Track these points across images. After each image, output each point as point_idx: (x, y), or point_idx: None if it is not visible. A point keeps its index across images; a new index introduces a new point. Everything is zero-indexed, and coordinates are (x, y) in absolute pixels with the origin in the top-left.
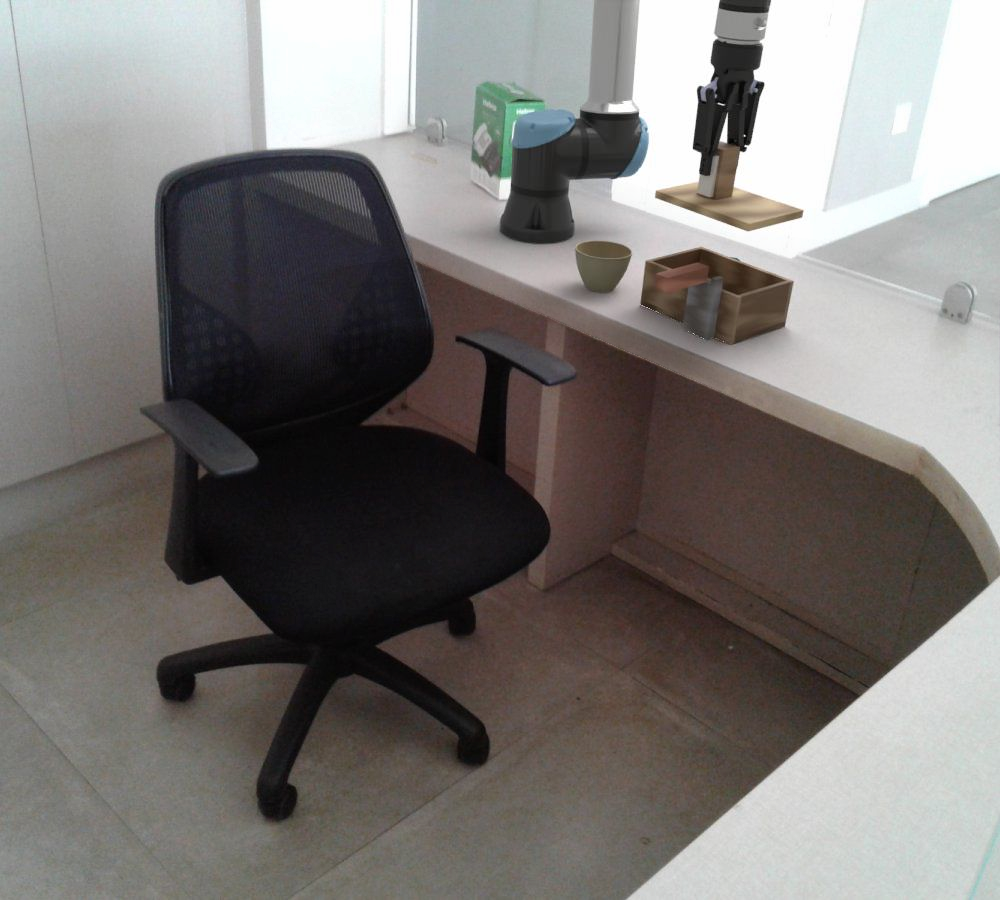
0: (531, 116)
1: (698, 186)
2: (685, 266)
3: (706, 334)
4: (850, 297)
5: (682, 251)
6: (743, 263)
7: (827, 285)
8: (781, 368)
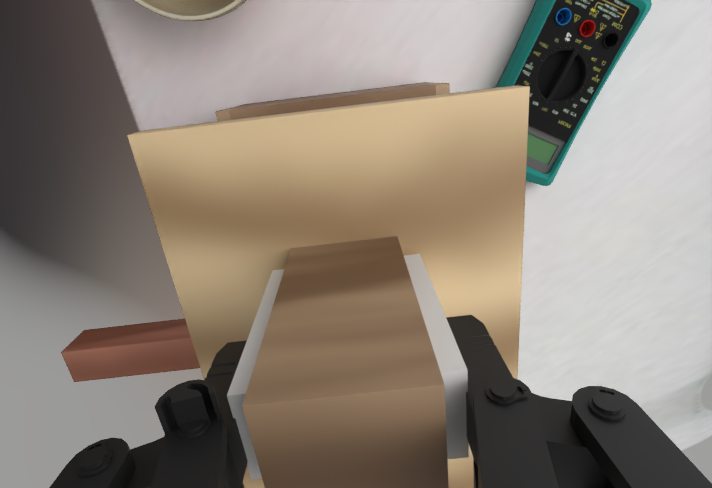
0: None
1: (267, 286)
2: (162, 344)
3: None
4: (669, 261)
5: (367, 94)
6: None
7: (699, 195)
8: None
